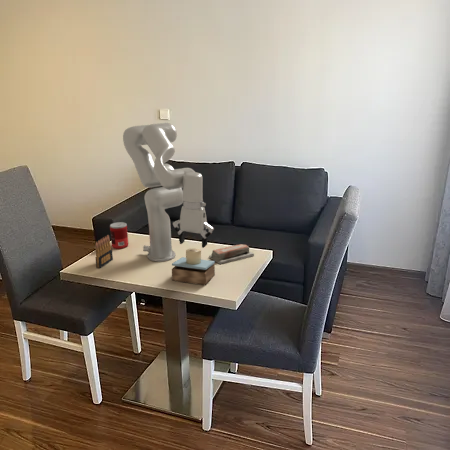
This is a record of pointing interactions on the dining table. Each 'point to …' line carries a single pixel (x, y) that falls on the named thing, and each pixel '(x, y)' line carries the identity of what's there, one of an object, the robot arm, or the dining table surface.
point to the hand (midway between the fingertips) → (193, 244)
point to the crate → (193, 275)
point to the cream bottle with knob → (193, 256)
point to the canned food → (119, 235)
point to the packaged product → (231, 253)
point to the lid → (203, 265)
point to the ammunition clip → (103, 252)
